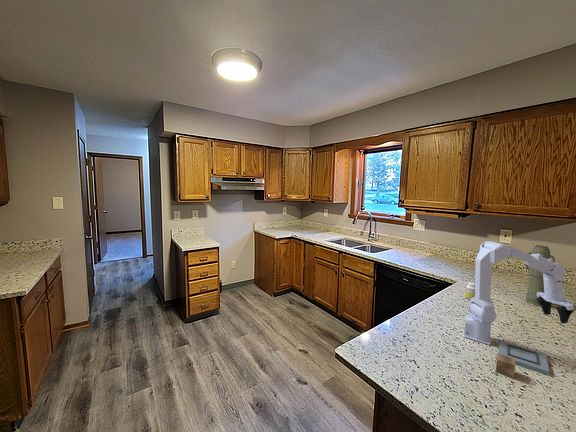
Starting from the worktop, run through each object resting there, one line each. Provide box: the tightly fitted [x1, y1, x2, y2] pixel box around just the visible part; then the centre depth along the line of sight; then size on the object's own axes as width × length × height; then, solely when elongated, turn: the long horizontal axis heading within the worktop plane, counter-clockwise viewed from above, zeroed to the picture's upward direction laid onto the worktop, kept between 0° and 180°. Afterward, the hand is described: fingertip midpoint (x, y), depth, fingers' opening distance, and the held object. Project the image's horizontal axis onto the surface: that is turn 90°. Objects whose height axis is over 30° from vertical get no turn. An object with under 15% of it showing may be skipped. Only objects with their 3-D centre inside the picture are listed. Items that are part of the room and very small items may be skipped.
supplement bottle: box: [465, 281, 475, 301], centre depth 158 cm, size 6×6×10 cm
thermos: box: [525, 244, 556, 307], centre depth 151 cm, size 9×12×35 cm
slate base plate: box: [498, 339, 550, 377], centre depth 101 cm, size 14×14×2 cm
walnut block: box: [495, 352, 516, 380], centre depth 93 cm, size 5×5×5 cm
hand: (555, 318), depth 113 cm, fingers open, 7 cm apart
